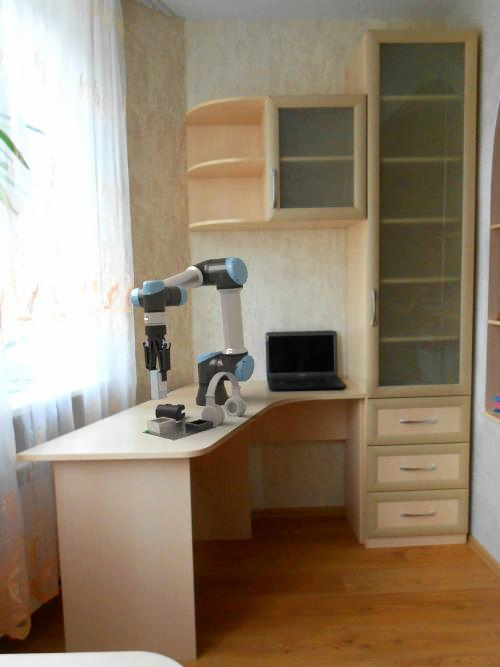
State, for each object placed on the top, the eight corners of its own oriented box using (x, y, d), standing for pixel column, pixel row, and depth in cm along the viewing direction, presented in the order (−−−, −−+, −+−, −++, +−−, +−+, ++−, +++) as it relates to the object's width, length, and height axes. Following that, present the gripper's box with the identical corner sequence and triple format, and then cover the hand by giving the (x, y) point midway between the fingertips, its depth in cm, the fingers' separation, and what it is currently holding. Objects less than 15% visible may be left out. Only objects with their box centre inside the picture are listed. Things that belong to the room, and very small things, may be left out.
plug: (160, 396, 187) (159, 369, 187) (167, 397, 185) (165, 370, 184) (151, 398, 184) (150, 370, 184) (158, 399, 182) (156, 371, 181)
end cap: (155, 422, 203) (154, 406, 202) (165, 418, 209) (164, 402, 209) (177, 424, 199) (176, 407, 198) (186, 419, 205) (185, 403, 205)
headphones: (230, 415, 210) (228, 368, 209) (247, 416, 206) (245, 369, 204) (200, 427, 193) (198, 376, 192) (219, 429, 189) (216, 377, 187)
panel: (184, 422, 200) (183, 410, 200) (216, 429, 188) (216, 416, 188) (142, 434, 185) (141, 421, 185) (174, 443, 173) (173, 428, 173)
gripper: (132, 324, 186) (136, 389, 187) (162, 325, 174) (165, 393, 176) (149, 323, 191) (153, 385, 193) (179, 323, 180) (182, 390, 181)
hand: (159, 389), depth 184 cm, fingers closed on plug, 4 cm apart
